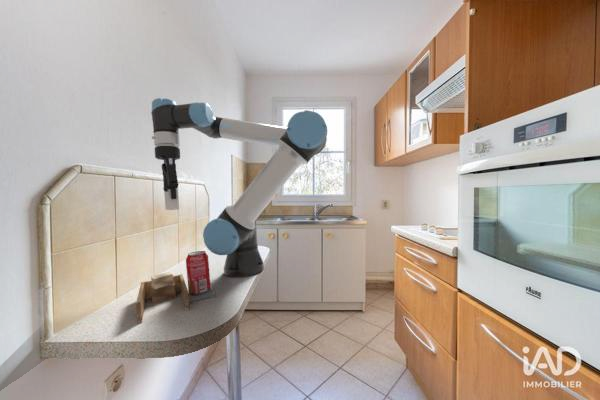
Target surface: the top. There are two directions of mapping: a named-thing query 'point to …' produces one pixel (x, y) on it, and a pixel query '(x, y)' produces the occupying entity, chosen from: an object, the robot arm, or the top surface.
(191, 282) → the beverage can
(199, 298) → the mat
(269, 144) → the robot arm
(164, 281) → the birch offcut
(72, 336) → the top surface
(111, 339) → the top surface
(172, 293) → the walnut offcut
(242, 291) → the top surface
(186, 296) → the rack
